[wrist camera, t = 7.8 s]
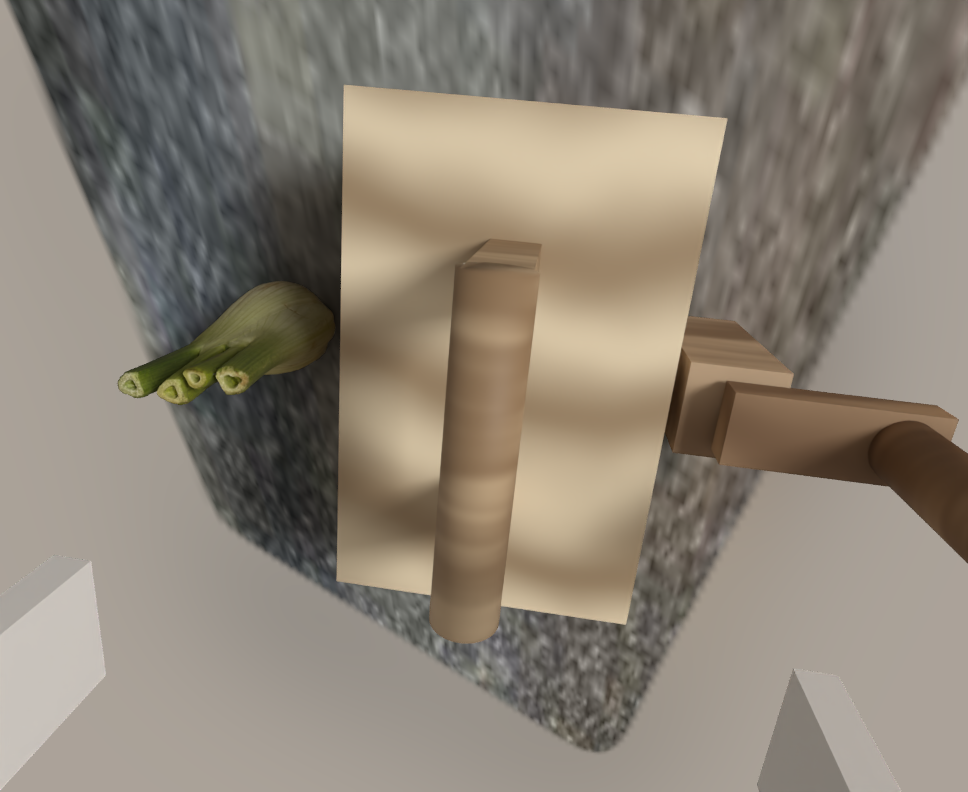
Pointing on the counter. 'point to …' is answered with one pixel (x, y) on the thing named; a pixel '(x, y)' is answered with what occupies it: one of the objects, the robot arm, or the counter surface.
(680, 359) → the toolbox
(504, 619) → the counter surface
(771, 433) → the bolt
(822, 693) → the robot arm
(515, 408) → the lid
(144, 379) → the fennel bulb
